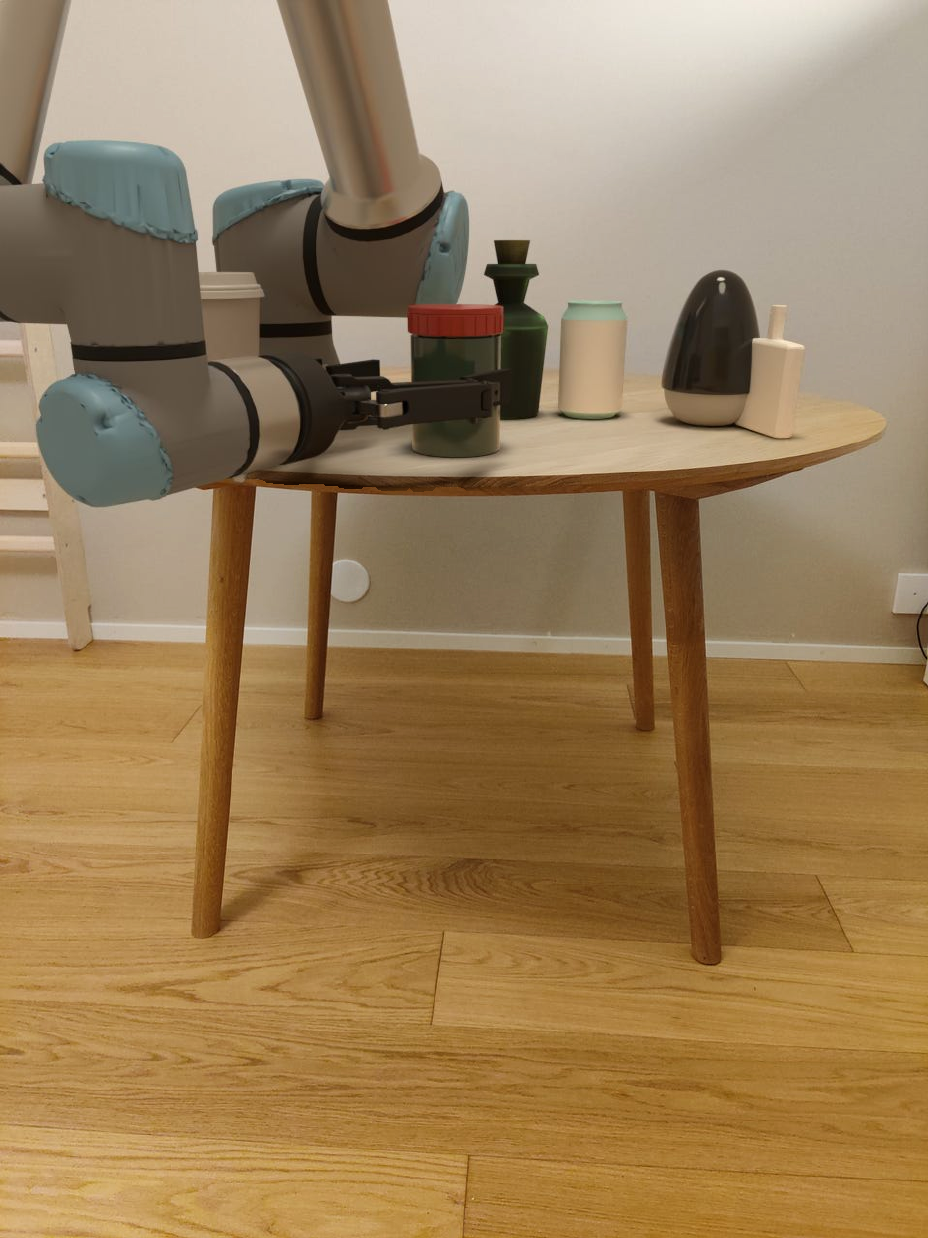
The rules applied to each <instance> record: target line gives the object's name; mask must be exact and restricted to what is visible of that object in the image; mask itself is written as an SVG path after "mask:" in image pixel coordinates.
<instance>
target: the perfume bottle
mask: <svg viewBox="0 0 928 1238" xmlns="http://www.w3.org/2000/svg"><path fill="white" fill-rule="evenodd" d="M770 307H771V308H770V315H769V322H768V330H767V337H760V338H753V341H752V368H751V384H750V392H749V394H747V399H746V403H745V406H744V409H743V411H742V413H741V415H740V417H739V418H738V420H737V421H735V423H734V424H735V425H736V426H739V427H741V428H745V429H746V430H750V431H752V432H753V431H754V432H756V433H759V434H762V435H764V436H767V437H770V438H774V439H790V438H792V437H793V430H794V425H795V419H796V418H795V417H796V412H797V411H796V410H797V404H798V397H799V391H800V385H801V378H802V372H803V366H804V358H805V353H806V346H805V345H803V344H800V343H797V342H793V341H790V340H785V339H784V333H785V328H786V327H785V326H786V321H787V313H788V305H786V304H785V305H784V304H772V305H771V306H770Z"/></svg>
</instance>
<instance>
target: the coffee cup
mask: <svg viewBox="0 0 928 1238" xmlns="http://www.w3.org/2000/svg"><path fill="white" fill-rule="evenodd" d="M199 281H200V292H201V303H202V314H203V325H204V336H205V343H206V353H207V359H208V361H212V360H220V359H228V358H237V357H245V356H259V323H260V297H265V296H264V293H263V290H262V289H261V286H260V285H259V284H257V282H256V278H255V275H254V273H253V272H216V271H199Z"/></svg>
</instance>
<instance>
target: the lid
mask: <svg viewBox="0 0 928 1238" xmlns="http://www.w3.org/2000/svg"><path fill="white" fill-rule="evenodd" d="M408 312H409V313H408V314H407V332H408V334H410V335H412V334H415V335H424V336H487V335H497V334H501V333H503V332H504V314H503V306H499V305H495V304H483V303H482V304H481V303H480V304H478V303H457V304H427V305H412V306H408Z"/></svg>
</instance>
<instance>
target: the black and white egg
mask: <svg viewBox="0 0 928 1238" xmlns="http://www.w3.org/2000/svg"><path fill="white" fill-rule="evenodd" d="M760 333H761V332H760V326H759V320H758V315H757V311H756V306H755V304H754V300H753V297H752V294H751V291H750V290H749V287H748V286H747V283H746V282H745V280H744V279H743V278H742V277H741V276H740V275H738V274H737V273H736V272H733V271H731V270H728V269H716V270H713V271H710V272H708V273H706V274H704V275H703V276H701V277H700V278H699V279H698V281H697V282H696V283H695V284H694V286H693V287H692V288H691V290H690V292H689V293H688V295H687V297H686V299H685V301H684V302H683V305H682V307H681V310H680V311H679V314H678V317H677V320H676V323H675V326H674V328H673V332H672V335H671V338H670V341H669V344H668V347H667V350H666V351H667V352H666V356H665V360H664V365H663V368H662V374H661V383H660V384H661V385H660V386H661V388H662V389H663V393H664V399H665V402H666V405H667V407H668V409H669V411H670V413H671V414H672V415H673V416H674V417H675V418H676V419H678V421H681V422H683V423H684V424H687V425H692V426H702V427H723V426H730V425H732V424H735V421H737V420H738V418H739V417H740V415H741V413H742V411H743V409H744V406H745V403H746V399H747V394H749V392H750V384H751V368H752V341H753V338H761V334H760Z"/></svg>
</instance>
